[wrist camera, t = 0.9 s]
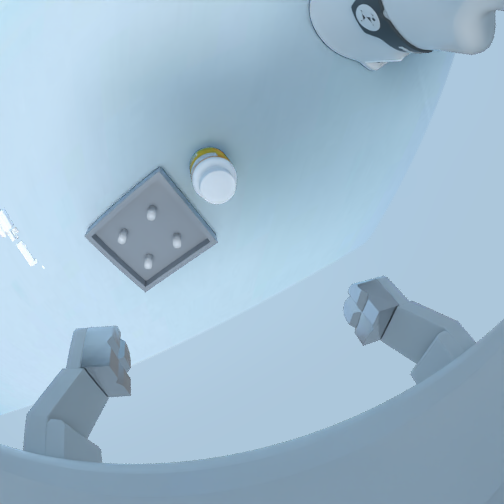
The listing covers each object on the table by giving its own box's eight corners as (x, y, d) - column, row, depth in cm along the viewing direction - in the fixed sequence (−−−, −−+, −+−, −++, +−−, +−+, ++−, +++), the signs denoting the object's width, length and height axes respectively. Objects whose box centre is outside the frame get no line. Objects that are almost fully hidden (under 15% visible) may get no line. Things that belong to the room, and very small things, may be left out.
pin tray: (160, 166, 35) (158, 173, 32) (215, 234, 43) (218, 245, 40) (88, 228, 36) (82, 239, 33) (146, 282, 45) (145, 296, 42)
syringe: (68, 287, 41) (66, 293, 40) (54, 296, 41) (52, 301, 40) (4, 202, 29) (-1, 206, 28) (-8, 216, 29) (-13, 220, 28)
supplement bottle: (231, 175, 38) (247, 201, 31) (196, 187, 38) (202, 217, 30) (221, 141, 35) (235, 157, 27) (184, 153, 35) (186, 174, 27)
